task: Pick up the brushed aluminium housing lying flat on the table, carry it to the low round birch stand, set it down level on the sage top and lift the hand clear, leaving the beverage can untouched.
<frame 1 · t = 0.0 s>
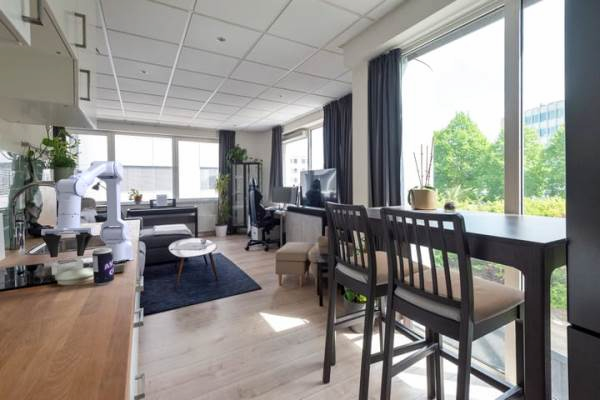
hand: (67, 256, 90), 11 cm above the counter, tool pointing down, fingers open, 7 cm apart
housing: (68, 274, 105), on the counter
beverage can: (104, 283, 95), on the counter
stand: (78, 279, 99), on the counter
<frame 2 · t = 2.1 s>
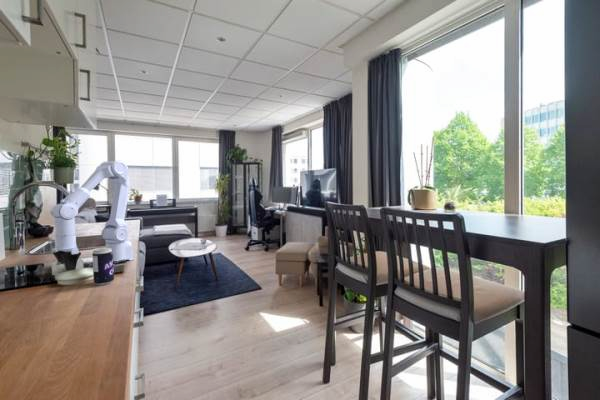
hand: (68, 270, 105), 1 cm above the counter, tool pointing down, fingers closed on housing, 5 cm apart
housing: (68, 274, 105), on the counter, touching gripper
everything else where it was.
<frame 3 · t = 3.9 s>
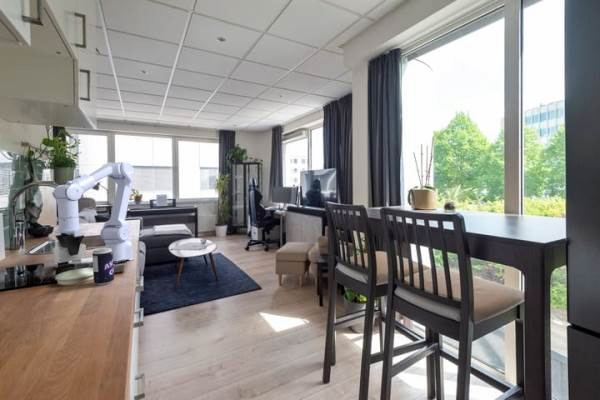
hand: (70, 254, 102), 8 cm above the counter, tool pointing down, fingers closed on housing, 5 cm apart
housing: (70, 259, 102), point 7 cm above the counter, touching gripper
everything else where it was.
when the fingers open (5 cm above the counter, at t = 5.7 s): housing stays where it is, resting on stand.
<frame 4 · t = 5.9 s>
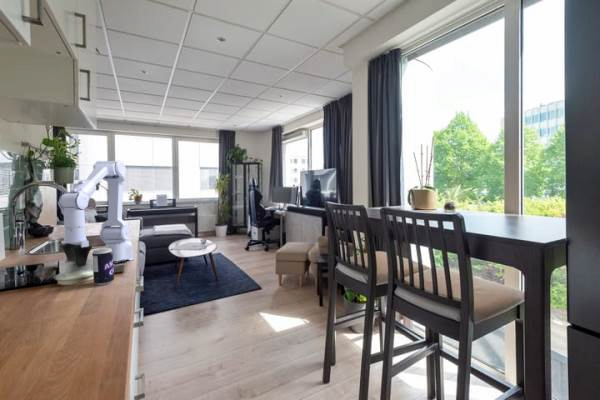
hand: (77, 264, 99), 5 cm above the counter, tool pointing down, fingers open, 6 cm apart
housing: (76, 273, 99), point 2 cm above the counter, touching stand
everything else where it was.
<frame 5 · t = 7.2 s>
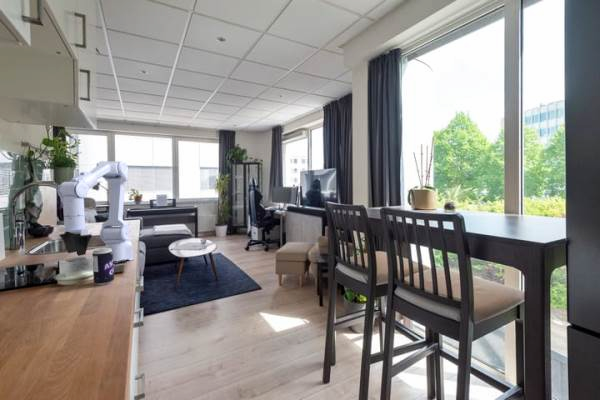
hand: (76, 253, 98), 9 cm above the counter, tool pointing down, fingers open, 7 cm apart
nothing on the counter moved.
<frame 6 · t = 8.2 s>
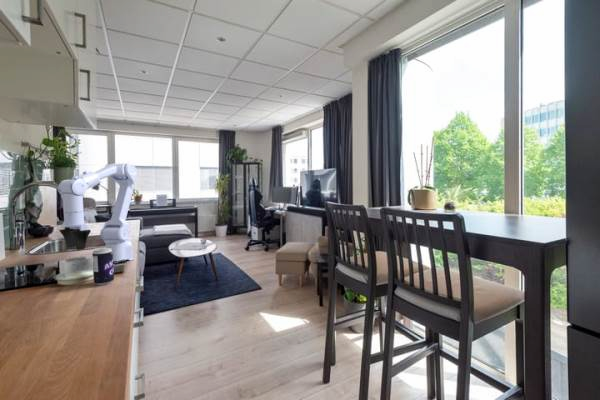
hand: (76, 248, 103), 10 cm above the counter, tool pointing down, fingers open, 7 cm apart
nothing on the counter moved.
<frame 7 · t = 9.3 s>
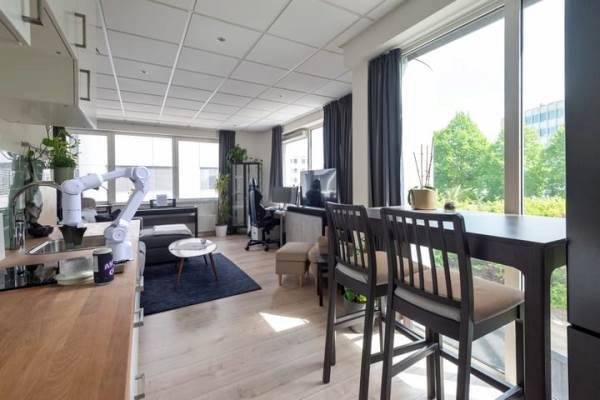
hand: (73, 244, 110), 10 cm above the counter, tool pointing down, fingers open, 7 cm apart
nothing on the counter moved.
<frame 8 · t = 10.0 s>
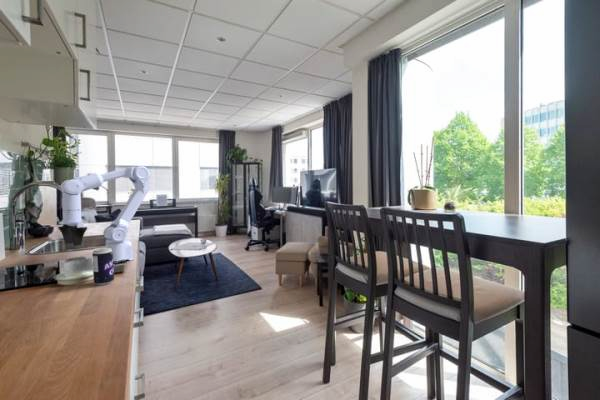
hand: (73, 244, 110), 10 cm above the counter, tool pointing down, fingers open, 7 cm apart
nothing on the counter moved.
at the end: housing 0.2 cm off-centre on the stand, point 2.5 cm above the stand's base; housing tilted 0°; the gripper is holding nothing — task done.
